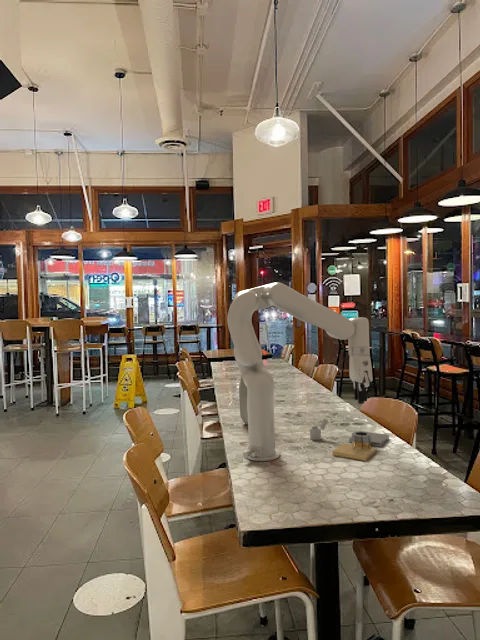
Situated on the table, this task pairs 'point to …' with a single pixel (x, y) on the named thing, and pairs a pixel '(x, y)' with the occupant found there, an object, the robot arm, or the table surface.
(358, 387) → the dark round-topped peg
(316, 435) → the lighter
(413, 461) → the table surface
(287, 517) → the table surface
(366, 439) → the hinge
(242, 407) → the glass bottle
